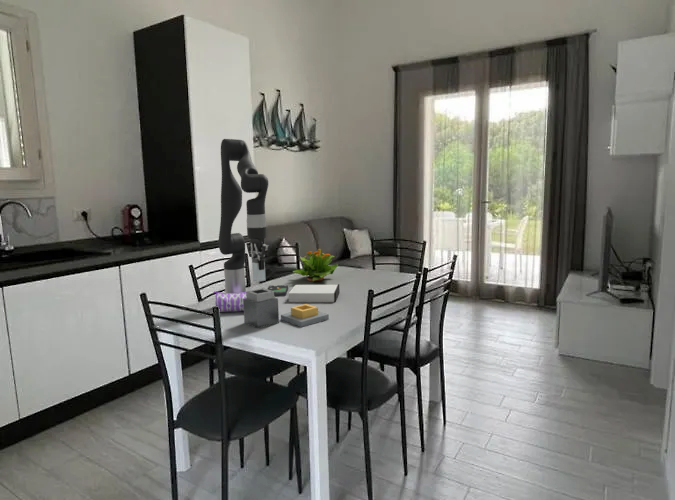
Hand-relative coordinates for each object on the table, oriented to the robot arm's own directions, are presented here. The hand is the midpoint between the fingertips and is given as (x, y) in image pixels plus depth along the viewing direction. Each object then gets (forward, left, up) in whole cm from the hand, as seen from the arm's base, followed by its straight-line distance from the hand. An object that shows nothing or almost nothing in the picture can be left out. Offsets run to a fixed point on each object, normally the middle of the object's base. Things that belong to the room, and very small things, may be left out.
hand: (258, 268), depth 180 cm
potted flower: (-48, +66, -22) cm, 85 cm away
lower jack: (+9, +15, -22) cm, 28 cm away
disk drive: (-38, +33, -23) cm, 55 cm away
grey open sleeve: (0, 0, -22) cm, 22 cm away
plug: (0, 0, -5) cm, 5 cm away
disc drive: (-16, +41, -23) cm, 49 cm away
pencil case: (-22, +3, -23) cm, 32 cm away
